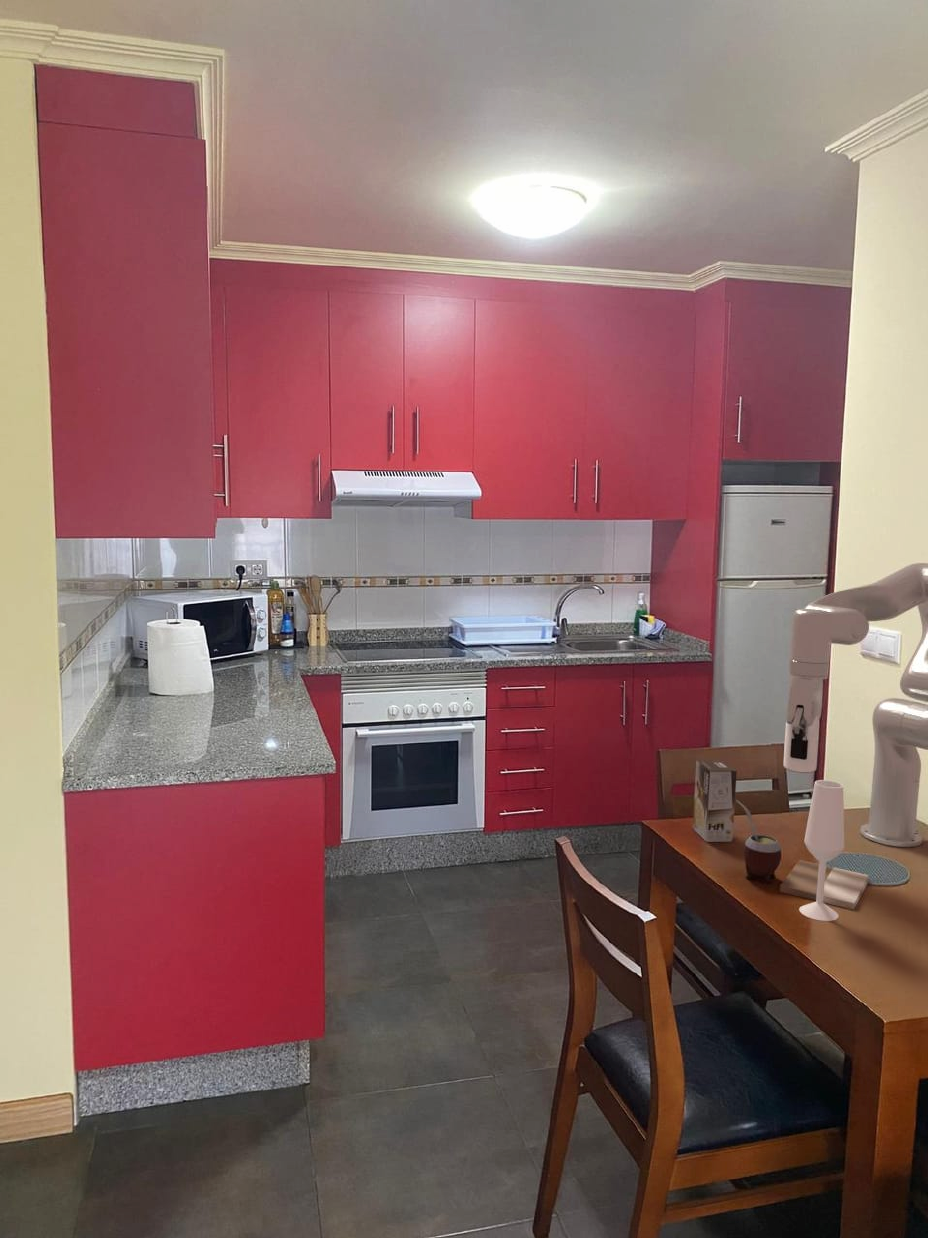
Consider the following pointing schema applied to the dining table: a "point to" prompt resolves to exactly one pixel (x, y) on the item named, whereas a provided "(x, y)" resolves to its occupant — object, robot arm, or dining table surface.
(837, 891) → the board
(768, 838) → the mate gourd
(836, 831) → the champagne flute
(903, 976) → the dining table surface
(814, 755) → the can
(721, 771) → the coffee box
